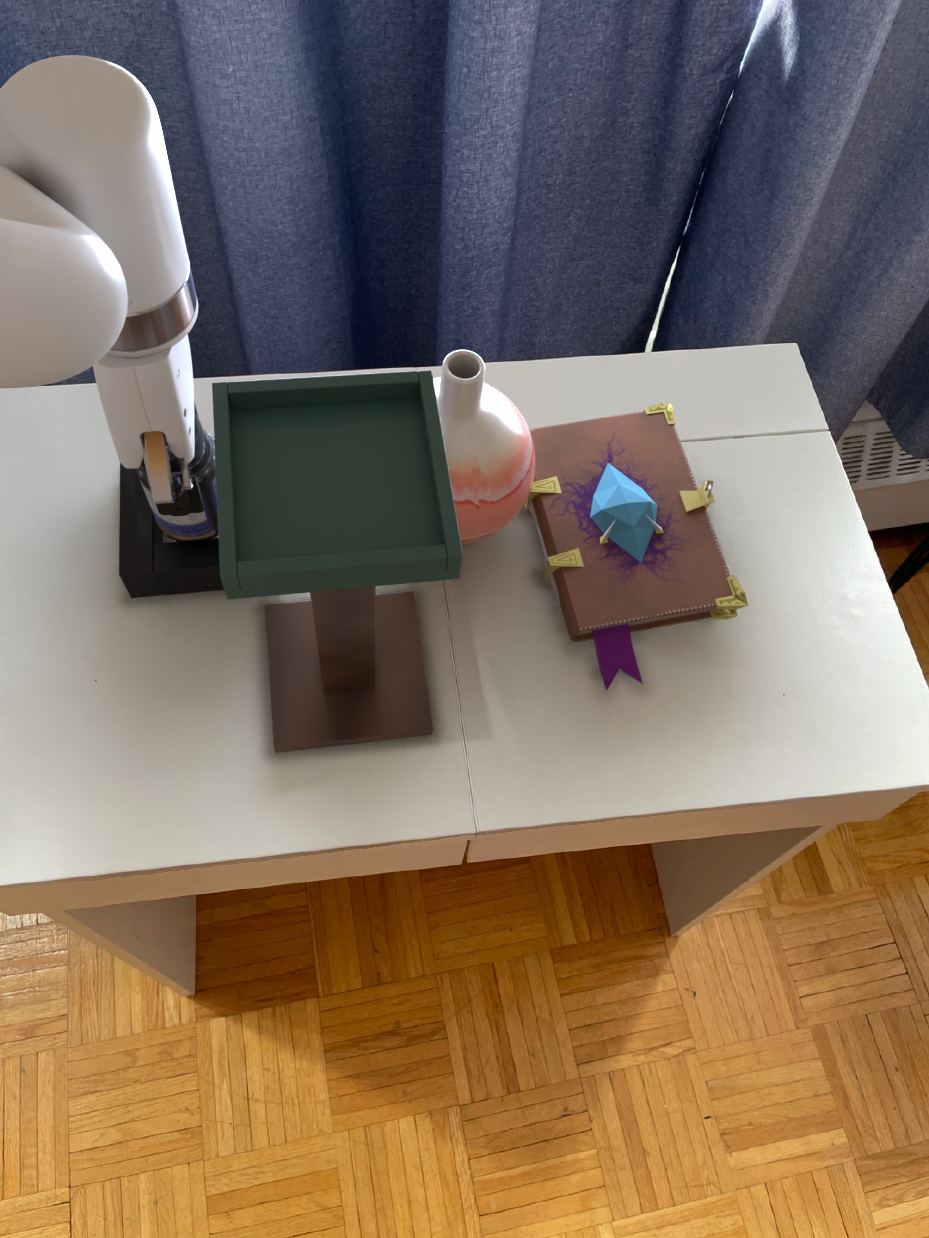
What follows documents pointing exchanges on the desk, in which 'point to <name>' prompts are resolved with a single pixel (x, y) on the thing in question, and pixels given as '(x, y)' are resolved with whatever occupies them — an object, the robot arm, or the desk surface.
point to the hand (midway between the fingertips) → (181, 471)
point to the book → (626, 532)
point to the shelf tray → (332, 484)
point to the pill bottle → (205, 472)
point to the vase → (482, 448)
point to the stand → (346, 669)
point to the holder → (159, 550)
